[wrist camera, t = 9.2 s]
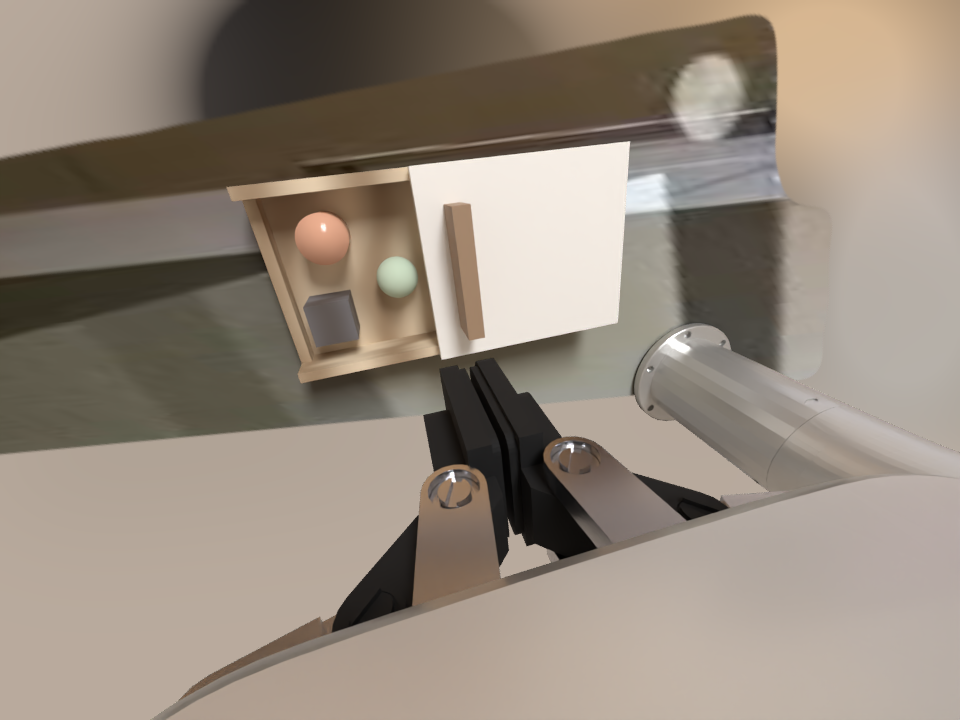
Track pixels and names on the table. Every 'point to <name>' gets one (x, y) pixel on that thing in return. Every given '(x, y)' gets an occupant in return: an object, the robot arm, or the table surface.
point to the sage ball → (397, 277)
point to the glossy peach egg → (322, 237)
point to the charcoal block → (332, 318)
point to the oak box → (346, 266)
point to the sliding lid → (522, 244)
